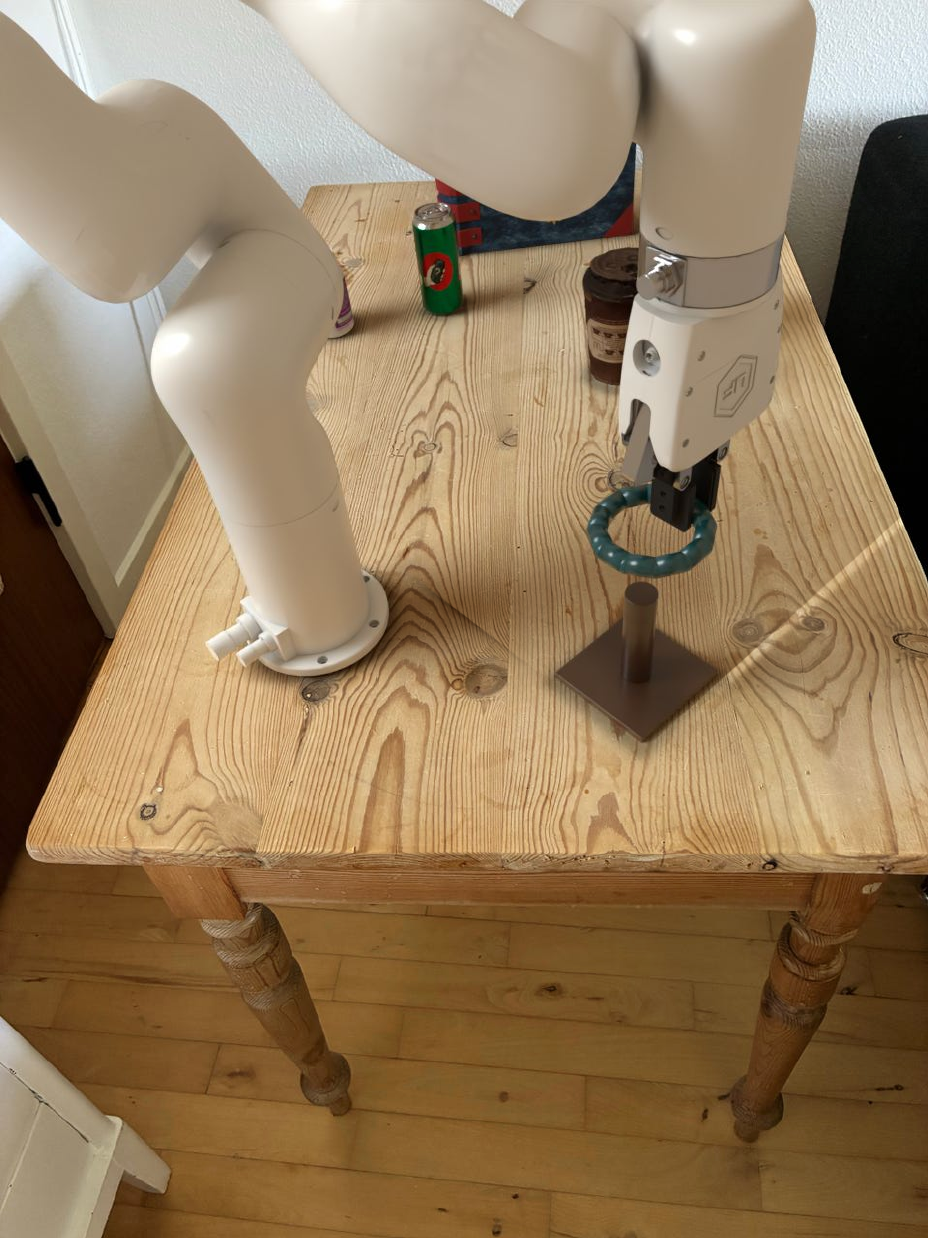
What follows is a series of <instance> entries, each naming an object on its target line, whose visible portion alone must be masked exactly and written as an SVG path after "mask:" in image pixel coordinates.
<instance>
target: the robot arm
mask: <svg viewBox="0 0 928 1238" xmlns="http://www.w3.org/2000/svg"><path fill="white" fill-rule="evenodd" d="M238 1H239V2H241V3H243V4H244V5H246V6H247V7H249V8H250V9H252V11H255V12H256V13H258V14H259V15H260V16H262V17H263V18H264V19H266V20H267V21H268V23H270V25H271V26H272V27H273V28H274V29H275V30H276V32H277V34H278V35H279V36H280V37H281V39H282V41H283V42H284V44H285V45H286V46H287V47H288V49H289V51H290V52H291V54H292V55H293V57H295V59H296V60H297V62H299V64H300V65H301V67H303V69H305V71H306V72H307V73H308V74H309V75H310V76H311V77H312V78H313V79H314V80H315V82H317V84H318V85H319V86H320V88H322V89H323V91H324V92H325V93H326V94H327V95H328V96H329V97H330V99H332V101H333V102H334V103H335V104H336V105H337V106H338V107H339V108H340V110H341V111H343V112H344V114H345V115H346V116H347V117H348V118H350V120H352V122H353V123H355V125H357V126H358V127H359V128H360V129H361V130H363V132H365V133H366V134H367V135H368V136H369V137H370V138H372V139H373V140H375V141H376V142H377V143H378V144H380V145H381V146H383V147H384V148H385V149H387V150H389V151H390V152H391V153H393V154H394V155H396V156H397V157H399V158H400V159H402V160H404V161H406V162H407V163H409V164H410V165H412V166H414V167H416V168H418V169H419V170H421V171H422V172H424V173H426V174H428V175H429V176H430V177H433V178H434V179H435V178H436V179H438V180H440V181H441V182H443V183H445V184H447V185H448V186H450V187H452V188H454V189H455V190H457V191H459V192H461V193H463V194H464V195H466V196H468V197H470V198H472V199H474V200H476V201H478V202H480V203H482V204H484V205H486V206H488V207H490V208H493V209H495V210H497V211H500V212H502V213H505V214H509V215H512V216H515V217H519V218H522V219H527V220H535V221H556V220H562V219H566V218H569V217H572V216H576V215H578V214H580V213H582V212H584V211H585V210H587V209H589V208H591V207H592V206H594V205H595V204H596V203H597V202H598V201H599V200H600V199H602V198H603V197H604V196H605V195H606V194H607V192H608V191H609V190H610V189H611V187H612V186H613V185H614V183H615V182H616V181H617V179H618V177H619V175H620V174H621V172H622V170H623V168H624V165H625V163H626V160H627V157H628V154H629V150H630V146H631V143H632V142H634V143H636V145H637V146H638V147H639V149H640V150H641V152H642V154H641V155H642V158H641V159H642V162H641V182H640V183H641V184H640V203H639V204H640V207H639V230H638V231H639V233H638V248H639V252H638V277H637V282H636V287H637V291H638V294H637V295H636V296H635V298H634V302H633V307H632V312H631V316H630V321H629V326H628V331H627V337H626V343H625V349H624V356H623V364H622V372H621V382H620V386H619V394H618V395H619V398H618V434H619V439H620V442H621V445H622V446H624V447H626V451H625V454H624V457H623V461H622V464H621V467H620V469H619V470H620V471H619V476H620V477H621V478H622V479H624V480H626V481H627V482H629V483H631V484H633V485H634V486H637V485H641V484H646V483H650V484H651V498H650V504H649V512H650V513H651V514H652V516H654V517H656V518H657V519H659V520H661V521H663V522H664V523H666V524H667V525H670V526H672V527H673V528H675V529H677V530H678V531H680V532H681V533H686V532H687V531H689V530H690V529H692V526H693V525H692V519H693V512H694V503H695V497H697V498H699V499H700V500H702V501H703V502H704V503H705V504H706V506H707V508H708V509H709V511H710V513H712V512H713V511H714V510H715V509H716V507H717V500H718V495H719V494H718V493H719V486H720V479H721V471H722V464H719V463H721V462H723V461H724V460H725V459H726V458H727V455H728V453H729V451H730V445H731V439H732V438H733V437H735V436H736V435H738V434H739V433H740V432H741V431H742V430H744V429H745V428H746V427H748V426H749V425H750V424H752V423H753V422H754V421H755V420H757V419H758V418H759V417H760V416H761V415H762V414H763V413H764V412H765V411H766V410H767V409H768V408H769V405H770V404H771V403H772V400H773V397H774V392H775V387H776V386H775V385H776V380H777V372H778V366H779V357H780V349H781V340H782V330H783V329H782V327H783V316H784V281H783V269H782V265H781V258H782V251H783V245H784V239H785V233H786V227H787V223H788V216H789V209H790V208H789V207H790V204H791V197H792V191H793V184H794V180H795V179H794V178H795V173H796V172H795V171H796V166H797V159H798V153H799V149H800V148H799V147H800V142H801V137H802V136H801V135H802V129H803V125H804V124H803V123H804V118H805V111H806V106H807V100H808V99H807V98H808V94H809V87H810V82H811V81H810V80H811V74H812V68H813V63H814V57H815V50H816V39H817V31H818V28H817V18H816V12H815V9H814V7H813V5H812V3H811V2H810V0H524V1H523V3H522V4H521V5H520V6H519V7H518V9H517V10H516V11H515V12H514V15H513V16H512V17H511V16H510V15H508V14H506V13H505V12H503V11H502V10H500V9H498V8H497V7H496V6H494V5H492V4H491V3H488V2H487V1H486V0H238ZM0 219H1V220H2V221H3V222H4V223H5V224H6V225H7V226H8V227H9V228H10V229H11V230H13V232H15V233H16V235H17V236H19V237H20V238H21V239H22V240H23V241H24V242H25V243H26V244H27V245H28V246H29V247H31V249H32V250H33V251H34V252H36V253H37V255H39V256H40V257H41V258H42V259H43V260H44V261H45V262H46V263H47V264H48V265H49V266H50V267H51V268H52V269H53V270H55V271H56V272H57V273H58V274H59V275H61V276H62V277H63V278H64V279H65V280H66V281H68V283H69V284H71V285H73V286H74V287H75V288H77V289H78V290H79V291H80V292H82V293H83V294H86V295H87V296H89V297H91V298H93V299H95V300H97V301H100V302H104V303H109V304H113V305H115V304H125V303H132V302H134V301H136V300H138V299H141V298H142V297H144V296H146V295H147V294H149V293H150V292H152V290H154V289H155V288H156V287H157V286H158V285H160V283H162V281H163V280H164V279H165V278H166V277H167V276H168V275H169V273H170V272H171V271H172V270H173V269H174V268H175V267H176V265H177V264H178V263H179V262H180V261H181V259H182V258H183V257H184V256H185V257H186V258H187V259H188V260H189V261H190V262H191V263H192V264H193V265H194V266H195V267H196V268H197V269H198V271H197V272H196V274H195V275H194V276H193V277H192V279H190V281H189V282H188V284H187V285H186V286H185V288H184V289H183V291H182V292H181V293H180V295H179V296H178V297H177V298H176V299H175V301H174V302H173V304H172V305H171V307H170V308H169V310H168V311H167V313H166V314H165V316H164V318H163V319H162V321H161V323H160V325H159V327H158V329H157V331H156V334H155V337H154V341H153V344H152V348H151V354H150V374H151V375H150V376H151V380H152V384H153V387H154V389H155V393H156V395H157V397H158V398H159V401H160V403H161V404H162V406H163V407H164V409H165V410H166V412H167V414H168V415H169V417H170V419H171V420H172V421H173V423H174V424H175V426H176V427H177V429H178V430H179V432H180V433H181V435H182V436H183V438H184V440H185V442H186V443H187V445H188V447H189V449H190V450H191V452H192V454H193V456H194V458H195V460H196V462H197V464H198V467H199V470H200V472H201V474H202V476H203V479H204V481H205V484H206V486H207V489H208V492H209V494H210V497H211V499H212V502H213V504H214V507H215V508H216V510H217V513H218V516H219V519H220V521H221V524H222V527H223V529H224V531H225V534H226V537H227V540H228V542H229V544H230V547H231V551H232V552H233V555H234V558H235V561H236V563H237V566H238V568H239V571H240V573H241V576H242V579H243V582H244V585H245V588H246V590H247V593H248V595H247V596H246V597H244V598H242V599H240V600H239V603H240V606H241V608H242V611H243V613H242V614H240V615H239V616H238V617H236V618H235V624H233V625H232V626H230V627H229V628H227V629H226V630H222V631H220V632H219V633H217V634H216V635H214V636H213V637H211V638H209V639H208V640H207V641H205V646H206V649H207V650H208V651H209V653H210V654H211V656H212V657H213V658H214V659H215V660H216V662H220V661H222V660H223V659H224V658H226V657H228V656H229V655H231V654H232V653H233V652H235V651H236V650H237V649H238V648H239V647H241V646H242V645H243V644H245V643H247V645H246V646H245V647H243V648H242V649H240V650H239V651H237V652H235V656H236V658H237V659H238V661H239V663H240V664H241V665H242V666H243V667H245V668H247V667H248V666H249V665H250V664H252V663H253V662H255V661H257V660H258V661H259V662H260V663H261V664H262V665H263V666H265V667H266V668H269V669H271V670H273V671H274V672H277V673H281V674H284V675H288V676H294V677H295V676H296V677H316V676H321V675H328V674H331V673H333V672H337V671H339V670H344V669H345V668H347V667H349V666H351V665H353V664H355V663H356V662H358V661H360V660H361V659H362V658H364V657H365V656H367V655H368V654H369V653H370V652H371V651H372V650H373V649H374V648H375V647H376V646H377V644H378V643H379V642H380V640H381V639H382V637H383V636H384V634H385V631H386V629H387V627H388V624H389V619H390V606H389V602H388V597H387V593H386V591H385V589H384V587H383V585H382V584H381V582H379V580H378V579H377V578H376V576H374V575H372V574H371V573H370V572H368V571H366V570H365V569H362V565H361V561H360V557H359V551H358V548H357V544H356V540H355V536H354V531H353V527H352V523H351V520H350V514H349V510H348V507H347V502H346V498H345V494H344V490H343V486H342V482H341V478H340V477H341V476H340V472H339V468H338V467H337V463H336V462H337V461H336V459H335V454H334V450H333V447H332V444H331V442H330V438H329V436H328V433H327V432H326V430H325V428H324V426H323V425H322V423H321V422H320V421H319V419H318V418H317V417H316V416H315V415H314V413H313V412H312V411H311V409H310V406H309V402H308V399H307V386H308V383H309V382H308V381H309V378H310V376H311V373H312V370H313V368H314V367H315V366H316V363H317V361H318V360H319V356H320V354H321V353H322V351H323V349H324V346H325V345H326V343H327V341H328V339H329V338H328V337H329V335H330V333H331V332H332V329H333V327H334V325H335V323H336V321H337V319H338V316H339V314H340V311H341V308H342V304H343V297H344V286H343V278H342V274H341V271H340V268H339V266H340V264H339V263H338V260H337V258H336V256H335V254H334V255H333V253H332V251H331V249H330V248H329V247H330V246H329V245H328V243H327V241H326V240H325V238H324V237H323V236H322V235H321V233H320V232H319V231H318V229H317V228H316V226H315V225H313V223H312V222H311V221H310V219H308V217H307V216H306V215H305V214H304V213H303V211H302V210H301V209H300V208H299V206H298V205H297V204H296V203H295V202H294V201H293V200H292V198H291V196H289V195H288V193H287V192H286V191H285V190H284V189H283V188H282V186H281V185H280V184H279V183H278V181H277V180H276V179H275V178H274V177H273V176H272V174H270V172H269V171H268V170H267V168H266V167H265V166H264V165H263V164H262V162H260V160H259V159H258V158H257V157H256V156H255V155H254V153H253V152H252V151H251V150H250V149H249V148H248V146H247V145H246V143H244V141H243V140H242V139H241V138H240V137H239V136H238V135H237V133H235V131H234V130H233V129H232V128H231V127H230V126H229V124H228V123H227V122H226V121H225V120H224V119H223V118H222V117H221V116H220V115H219V114H218V113H217V112H216V111H215V110H214V109H213V108H211V107H210V106H209V105H208V104H207V103H205V101H203V100H201V99H200V98H199V97H197V96H195V95H194V94H193V93H191V92H189V91H187V90H185V89H184V88H182V87H179V86H177V85H175V84H173V83H170V82H167V81H165V80H161V79H155V78H136V79H129V80H126V81H123V82H121V83H118V84H115V85H113V86H111V87H110V88H108V89H107V90H105V91H104V92H103V93H101V94H99V96H98V97H96V98H95V99H93V98H91V97H90V96H89V95H88V94H87V93H86V92H84V91H83V90H82V88H80V87H79V86H78V85H77V84H76V83H75V82H74V81H73V80H72V79H71V77H69V76H68V75H67V74H66V73H65V72H64V71H63V70H62V69H61V68H60V67H59V66H58V64H57V63H56V62H55V60H54V59H52V57H51V56H50V55H49V54H48V53H47V51H46V50H45V49H44V48H43V47H42V45H41V44H40V43H39V42H38V41H37V40H36V39H35V38H34V37H33V36H32V35H31V34H29V33H28V32H27V31H26V29H24V28H23V27H21V26H20V24H18V23H17V22H16V21H14V20H13V19H12V18H11V17H9V16H8V15H6V14H5V13H4V12H2V11H1V10H0Z"/></svg>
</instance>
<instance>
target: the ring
mask: <svg viewBox="0 0 928 1238" xmlns="http://www.w3.org/2000/svg"><path fill="white" fill-rule="evenodd" d="M651 484H652V483H649V482H647V483H643V484H640V485H633V486H628V487H624V488H618V489H616V490H615V491H613V492H611V494H609V495H608V496H606V497H605V498H603V499H602V500H601V501H600V502H598V503H597V504H596V505H594V507H593V509H592V511H591V514H590V516H589V519H588V523H587V524H586V525H587V526H586V528H585V535H586V537H587V540H588V541H589V542H588V543H589V544H590V546H591V549H592V551H593V553H594V555H595V556H596V558H597V559H599V560H600V561H602V562H603V563H605V564H606V565H608V566H609V567H611V568H612V569H614V570H616V571H617V572H618V573H620V574H622V575H627V576H634V577H640V578H647V579H653V580H657V579H662V578H666V577H671V576H675V575H680V574H684V573H688V572H690V571H691V570H692V569H693V568H695V567H696V566H697V565H699V564H700V563H701V562H703V560H705V559H706V558H707V557H708V556H709V555H710V554H712V552H713V550H714V546H715V542H716V536H717V532H718V523H717V521H716V519H715V517H714V516H713V514H712V512H710V511H709V509H708V508H707V506H706V504H705V503H704V502H703V501H702V500H700V499H699V498H697V497H695V503H694V512H693V519H692V526H693V528H694V531H693V536H692V539H691V540H690V542H688V543H687V544H686V545H685V546H684V547H682V548H681V549H679V550H678V551H675V552H671V553H666V554H661V555H657V556H654V555H653V556H652V555H647V554H639V553H632V552H630V551H628V550H626V549H624V548H623V547H621V546H620V545H618V544H616V543H614V541H613V539H612V537H611V534H610V533H609V528H610V525H611V521H612V519H614V518H615V517H616V516H618V515H619V514H621V513H622V512H623V511H624V510H626V509H630V508H635V507H640V506H644V505H650V498H651Z"/></svg>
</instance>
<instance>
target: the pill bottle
mask: <svg viewBox="0 0 928 1238" xmlns="http://www.w3.org/2000/svg"><path fill="white" fill-rule="evenodd" d="M329 248H330V249H331V251H332V253H333V255H334V256H335V252H334V249H333V248H332V247H331V246H329ZM339 268H340V271H341V274H342V278H343V286H344V297H343V304H342V308H341V311H340V314H339V316H338V319H337V321H336V323H335V325H334V327H333V329H332V332H331V333H330V335H329V337H328V339H336V338H340V337H342V336H344V335H346V334H348V333H350V332H351V330H352V329H353V327H354V325H355V319H354V315H353V309H352V305H351V300H350V299H351V298H350V295H349V290H348V286H347V281H346V275H345V272H344V270H343V268H342V267H341V266H340V265H339Z"/></svg>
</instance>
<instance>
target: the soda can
mask: <svg viewBox="0 0 928 1238" xmlns="http://www.w3.org/2000/svg"><path fill="white" fill-rule="evenodd" d="M411 226H412V235H413V241H414V242H413V243H414V250H415V257H416V264H417V273H418V280H419V288H420V295H421V302H422V308H424V309H425V311H427V313H429V314H431V315H433V316H439V317H440V316H449V315H452V314H454V313H456V312H458V311H459V310H460V308H461V307H462V306H463V304H464V302H465V300H464V291H463V279H462V270H461V260H460V255H459V247H458V237H457V227H456V217H455V215H454V214H453V213H452V209H451V207H450V206H449V205H447V204H445V203H438V202H437V201H435V202H428V203H424V204H422V205H420V206H418V207H416V208H415V210H414V212H413V218H412V220H411Z"/></svg>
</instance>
